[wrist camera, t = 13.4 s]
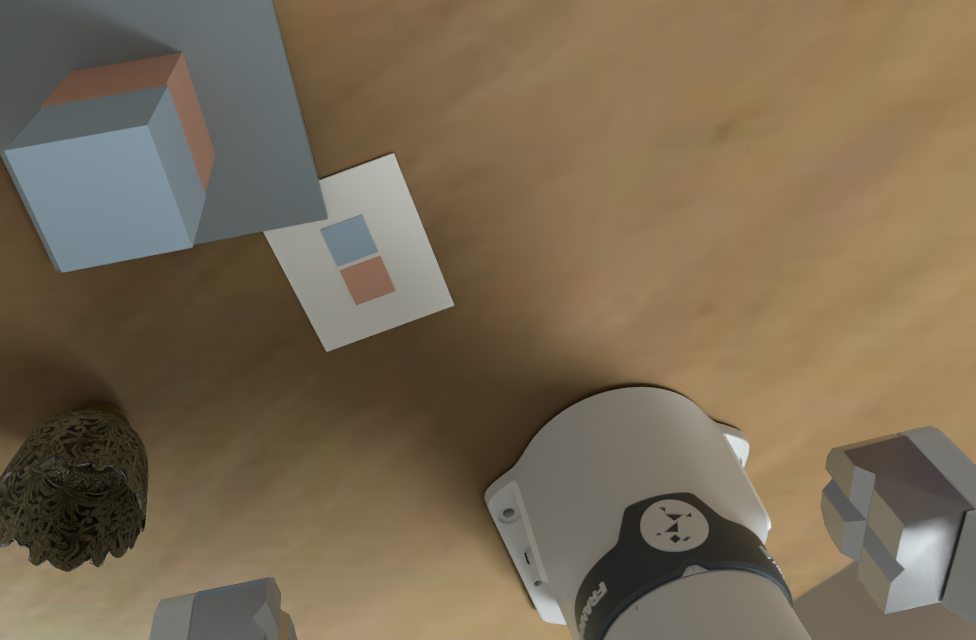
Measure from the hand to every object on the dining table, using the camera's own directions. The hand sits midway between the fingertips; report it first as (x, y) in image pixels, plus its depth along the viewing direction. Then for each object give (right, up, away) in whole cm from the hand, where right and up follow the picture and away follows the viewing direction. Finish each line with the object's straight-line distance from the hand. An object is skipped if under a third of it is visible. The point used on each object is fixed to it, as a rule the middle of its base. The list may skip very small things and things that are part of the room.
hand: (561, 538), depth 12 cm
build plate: (-17, +13, +28) cm, 35 cm away
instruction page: (-8, +7, +34) cm, 35 cm away
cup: (-24, -3, +37) cm, 44 cm away
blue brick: (-16, +10, +23) cm, 30 cm away
